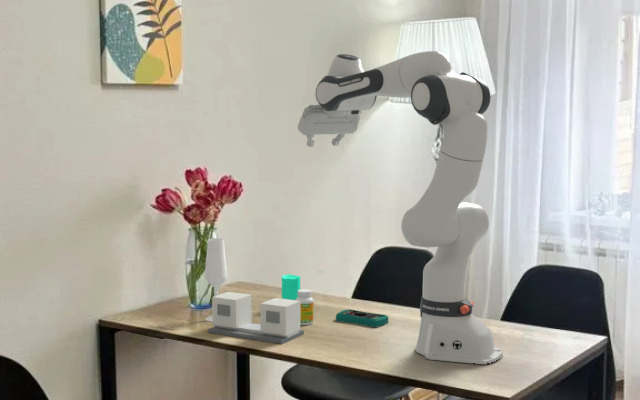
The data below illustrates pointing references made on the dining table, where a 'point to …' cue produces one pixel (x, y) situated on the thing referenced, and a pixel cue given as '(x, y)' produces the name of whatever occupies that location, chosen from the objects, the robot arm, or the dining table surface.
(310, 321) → the supplement bottle
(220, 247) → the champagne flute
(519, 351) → the dining table surface
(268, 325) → the board
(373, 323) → the digital multimeter
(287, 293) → the candle
